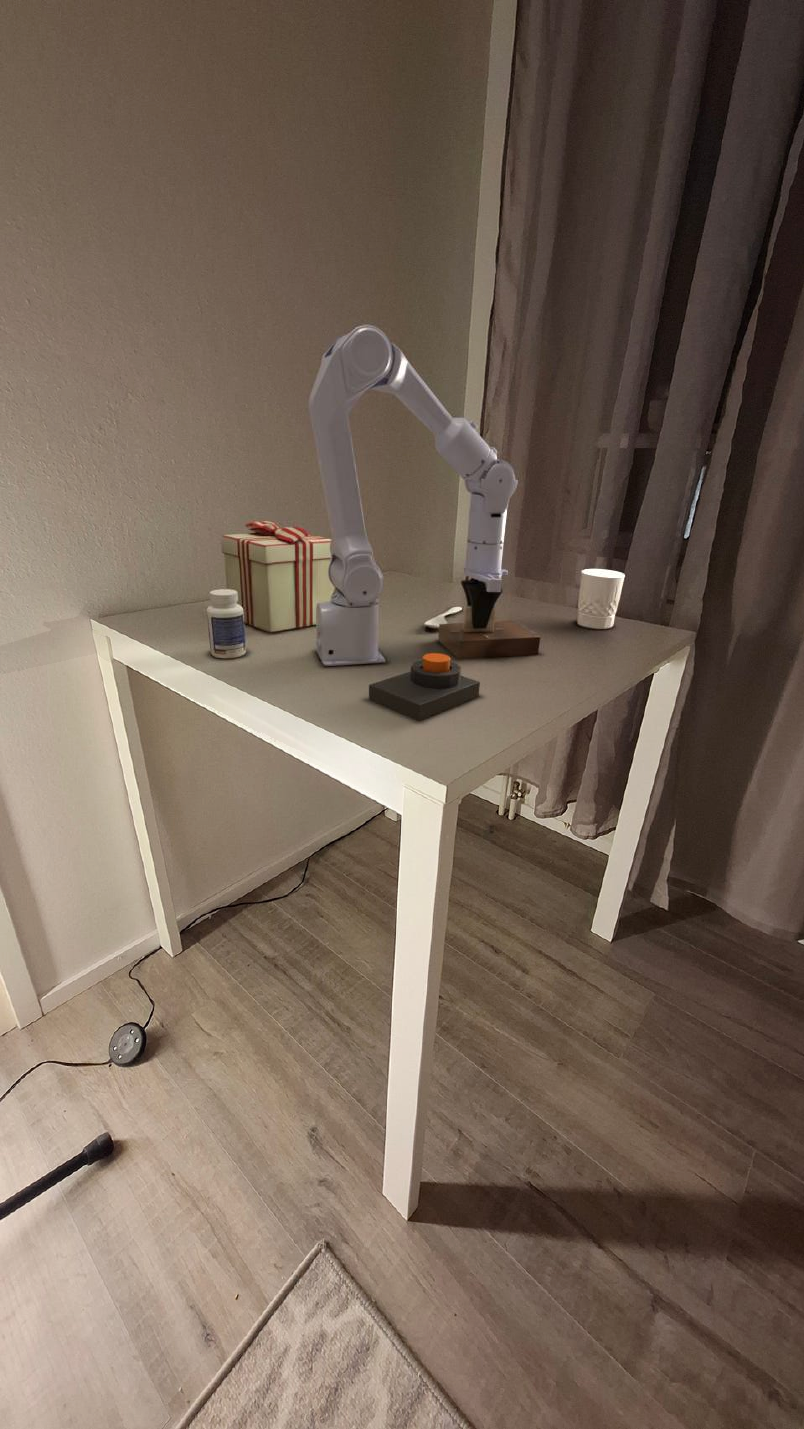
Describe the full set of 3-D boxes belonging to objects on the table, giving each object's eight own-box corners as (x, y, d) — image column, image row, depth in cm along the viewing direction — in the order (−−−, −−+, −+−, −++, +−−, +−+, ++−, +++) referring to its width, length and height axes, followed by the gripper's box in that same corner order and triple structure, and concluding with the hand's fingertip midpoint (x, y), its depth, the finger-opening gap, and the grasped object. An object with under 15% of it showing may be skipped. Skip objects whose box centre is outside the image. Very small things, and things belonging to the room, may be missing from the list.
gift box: (352, 617, 118) (352, 524, 111) (274, 636, 105) (269, 532, 98) (294, 601, 128) (291, 515, 121) (217, 617, 115) (209, 521, 108)
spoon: (418, 631, 111) (419, 622, 110) (449, 606, 129) (449, 598, 128) (440, 634, 110) (441, 625, 109) (468, 608, 128) (469, 601, 127)
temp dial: (464, 631, 101) (466, 606, 99) (461, 629, 102) (463, 604, 101) (493, 631, 102) (495, 606, 100) (490, 629, 103) (493, 604, 101)
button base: (418, 721, 75) (420, 691, 74) (368, 700, 81) (368, 671, 79) (478, 696, 83) (481, 669, 82) (429, 679, 89) (430, 652, 87)
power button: (437, 676, 80) (438, 663, 79) (416, 669, 82) (417, 656, 81) (454, 670, 82) (455, 657, 81) (434, 663, 84) (435, 651, 83)
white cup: (582, 617, 125) (590, 567, 121) (621, 624, 121) (630, 572, 116) (567, 624, 119) (575, 572, 115) (607, 632, 115) (617, 579, 111)
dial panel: (458, 659, 97) (460, 640, 96) (438, 640, 106) (439, 623, 105) (538, 654, 101) (540, 635, 100) (512, 636, 110) (513, 619, 109)
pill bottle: (253, 654, 96) (249, 592, 92) (223, 661, 92) (217, 597, 89) (234, 646, 99) (229, 586, 95) (204, 653, 96) (197, 591, 92)
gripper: (524, 549, 90) (514, 638, 96) (497, 535, 103) (489, 614, 109) (478, 548, 89) (470, 639, 95) (456, 534, 102) (450, 614, 108)
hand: (478, 626), depth 102 cm, fingers closed on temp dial, 2 cm apart
